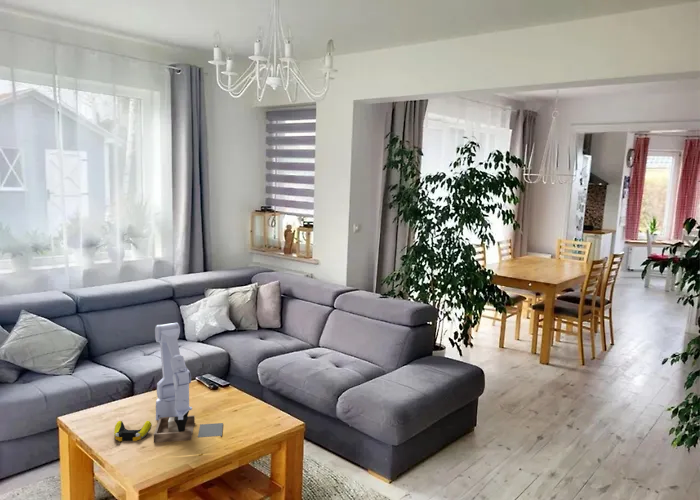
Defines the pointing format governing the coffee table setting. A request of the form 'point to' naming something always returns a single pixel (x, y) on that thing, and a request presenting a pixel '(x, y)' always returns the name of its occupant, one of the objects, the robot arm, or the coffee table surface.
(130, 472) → the coffee table surface
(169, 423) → the block
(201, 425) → the mat
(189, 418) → the crate
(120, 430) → the gaming controller
